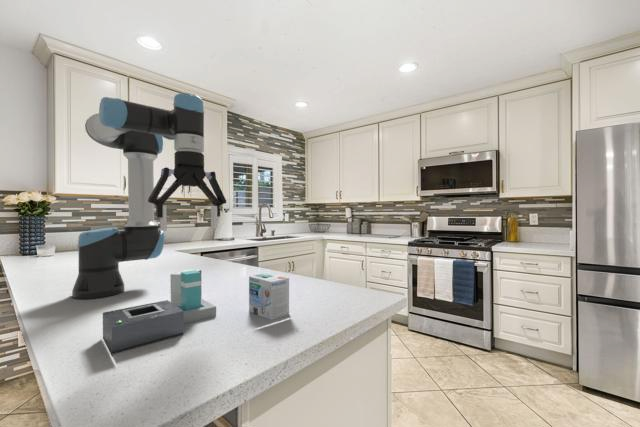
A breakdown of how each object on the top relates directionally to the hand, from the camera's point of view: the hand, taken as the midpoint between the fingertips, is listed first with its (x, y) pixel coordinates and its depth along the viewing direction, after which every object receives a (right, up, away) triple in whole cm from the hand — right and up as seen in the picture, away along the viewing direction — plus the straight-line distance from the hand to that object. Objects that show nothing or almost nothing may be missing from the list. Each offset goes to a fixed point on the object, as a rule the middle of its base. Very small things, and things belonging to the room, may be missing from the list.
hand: (190, 229), depth 83 cm
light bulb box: (+21, -25, +2) cm, 33 cm away
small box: (-6, -25, +11) cm, 28 cm away
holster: (0, -24, 0) cm, 24 cm away
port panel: (-5, -25, -13) cm, 28 cm away
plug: (0, -24, 0) cm, 24 cm away
